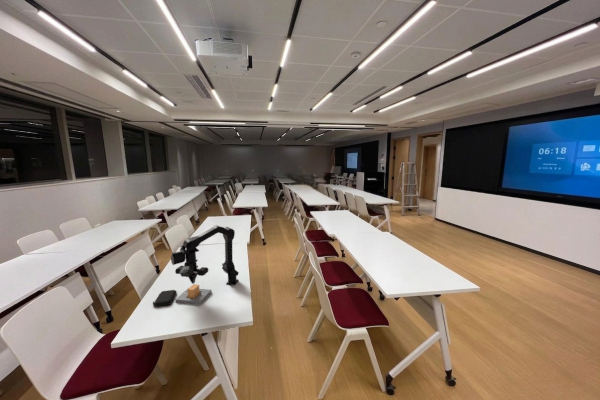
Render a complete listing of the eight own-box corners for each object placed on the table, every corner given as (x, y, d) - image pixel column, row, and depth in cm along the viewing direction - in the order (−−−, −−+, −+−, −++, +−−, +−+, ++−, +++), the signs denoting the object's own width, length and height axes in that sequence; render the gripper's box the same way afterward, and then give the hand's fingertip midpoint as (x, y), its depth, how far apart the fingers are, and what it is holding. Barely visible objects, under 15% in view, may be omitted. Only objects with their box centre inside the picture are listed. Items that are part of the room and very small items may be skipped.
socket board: (188, 290, 155) (188, 287, 154) (211, 292, 152) (211, 289, 152) (175, 302, 142) (175, 299, 142) (200, 304, 140) (199, 301, 139)
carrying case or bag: (159, 294, 151) (150, 308, 136) (158, 290, 150) (150, 304, 136) (177, 292, 153) (170, 306, 139) (177, 288, 152) (170, 301, 138)
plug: (194, 294, 150) (193, 284, 149) (199, 295, 150) (199, 284, 149) (188, 300, 144) (187, 289, 143) (194, 300, 144) (193, 290, 143)
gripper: (167, 264, 136) (170, 289, 139) (197, 266, 133) (199, 291, 136) (180, 256, 147) (182, 279, 150) (208, 258, 144) (209, 281, 147)
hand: (193, 283), depth 145 cm, fingers closed
